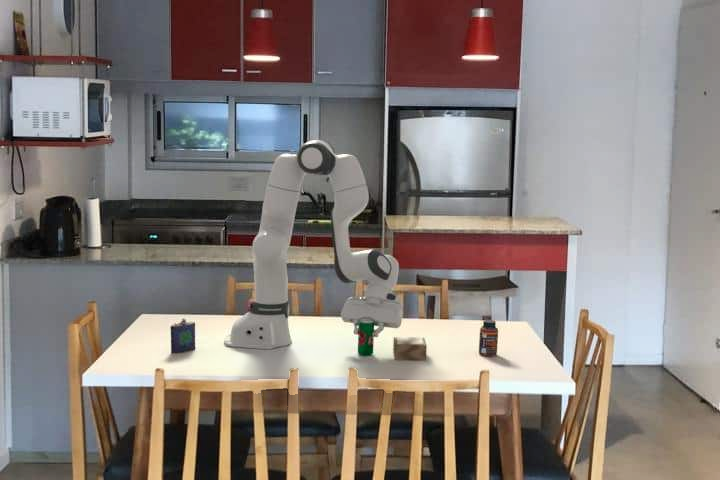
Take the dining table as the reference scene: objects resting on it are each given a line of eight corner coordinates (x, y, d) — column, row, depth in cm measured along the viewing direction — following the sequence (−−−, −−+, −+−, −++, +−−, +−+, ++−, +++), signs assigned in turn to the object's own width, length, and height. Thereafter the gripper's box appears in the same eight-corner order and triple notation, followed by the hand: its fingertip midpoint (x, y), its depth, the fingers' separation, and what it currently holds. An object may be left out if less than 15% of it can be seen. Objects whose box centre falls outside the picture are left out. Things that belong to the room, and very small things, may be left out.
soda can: (371, 357, 298) (372, 320, 296) (356, 355, 299) (357, 319, 297) (374, 353, 303) (375, 317, 301) (359, 351, 304) (360, 315, 302)
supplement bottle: (485, 357, 301) (487, 323, 299) (475, 353, 306) (476, 319, 304) (500, 356, 303) (502, 322, 302) (490, 351, 308) (491, 318, 307)
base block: (394, 360, 295) (395, 344, 294) (393, 351, 305) (393, 336, 304) (426, 360, 295) (426, 344, 294) (423, 352, 305) (424, 336, 304)
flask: (192, 347, 304) (192, 315, 303) (197, 349, 302) (197, 317, 301) (169, 352, 298) (168, 320, 296) (174, 354, 296) (174, 321, 294)
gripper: (345, 290, 308) (333, 325, 301) (403, 297, 301) (392, 333, 293) (349, 301, 313) (338, 336, 305) (407, 308, 306) (396, 343, 298)
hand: (365, 334), depth 299 cm, fingers closed on soda can, 5 cm apart
